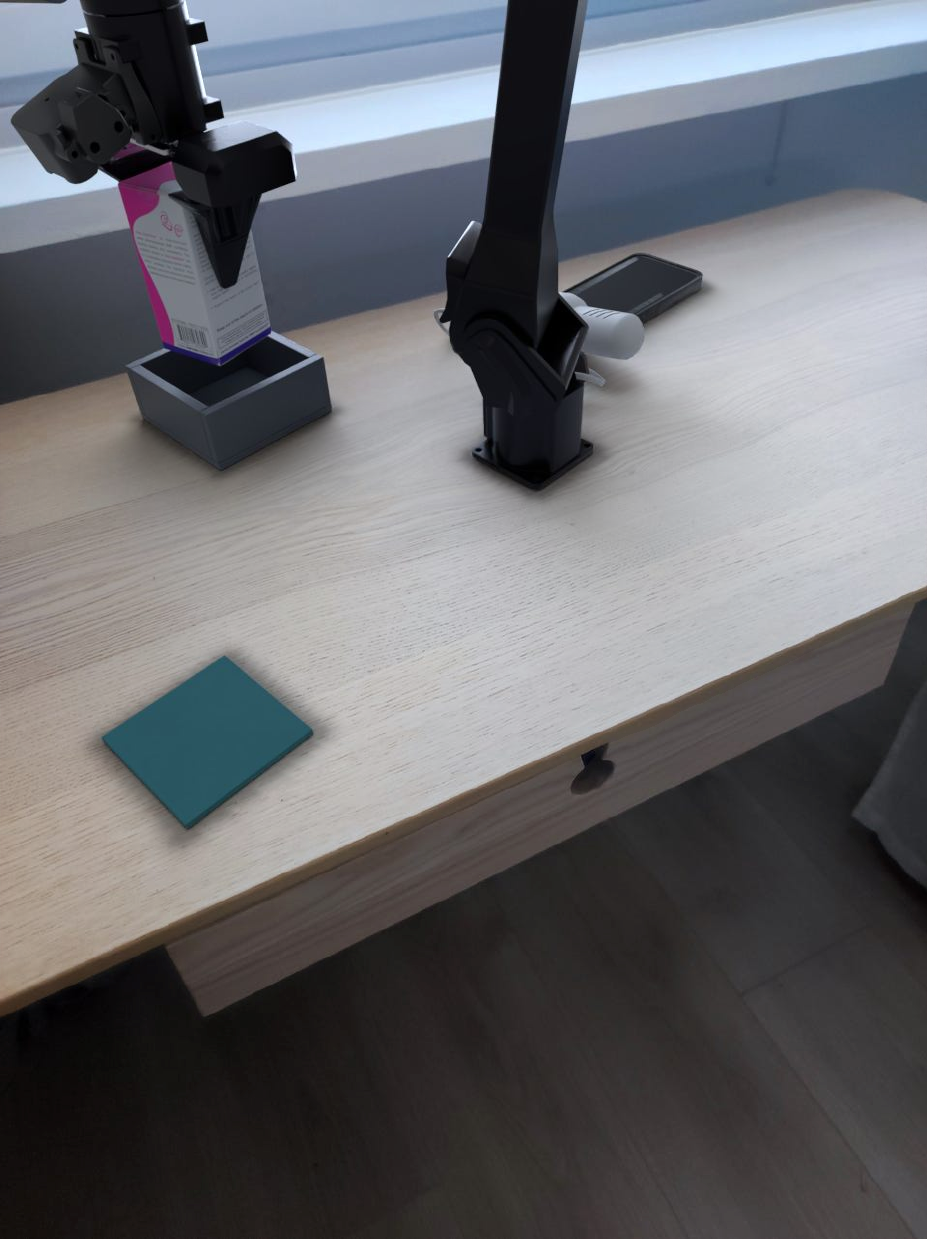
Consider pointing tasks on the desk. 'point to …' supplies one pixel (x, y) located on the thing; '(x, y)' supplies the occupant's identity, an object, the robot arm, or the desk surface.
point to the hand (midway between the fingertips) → (201, 273)
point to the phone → (638, 286)
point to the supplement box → (191, 275)
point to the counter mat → (206, 739)
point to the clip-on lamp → (599, 336)
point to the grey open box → (232, 397)
